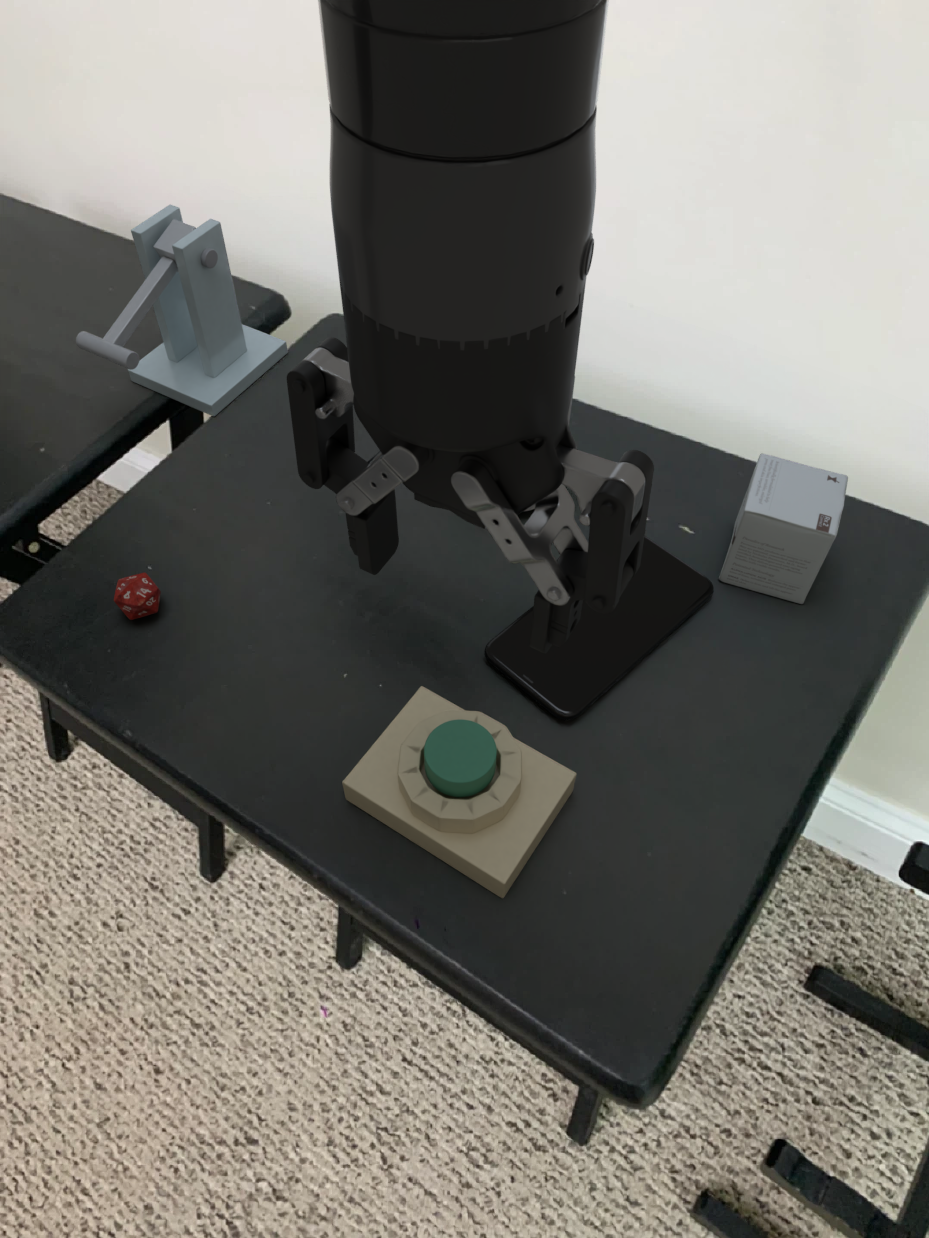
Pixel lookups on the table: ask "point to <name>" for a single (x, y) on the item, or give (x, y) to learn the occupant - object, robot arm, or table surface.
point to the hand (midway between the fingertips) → (461, 597)
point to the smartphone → (602, 636)
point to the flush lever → (138, 303)
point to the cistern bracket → (199, 322)
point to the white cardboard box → (784, 528)
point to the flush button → (460, 758)
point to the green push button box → (461, 826)
